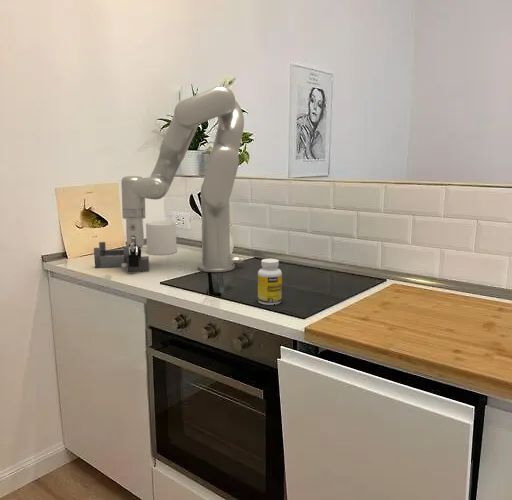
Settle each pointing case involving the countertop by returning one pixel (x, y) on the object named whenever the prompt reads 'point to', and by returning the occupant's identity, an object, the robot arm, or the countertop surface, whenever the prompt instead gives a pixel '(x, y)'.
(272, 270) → the pill bottle
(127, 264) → the plug
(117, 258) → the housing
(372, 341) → the countertop surface
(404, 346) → the countertop surface
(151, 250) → the cup
